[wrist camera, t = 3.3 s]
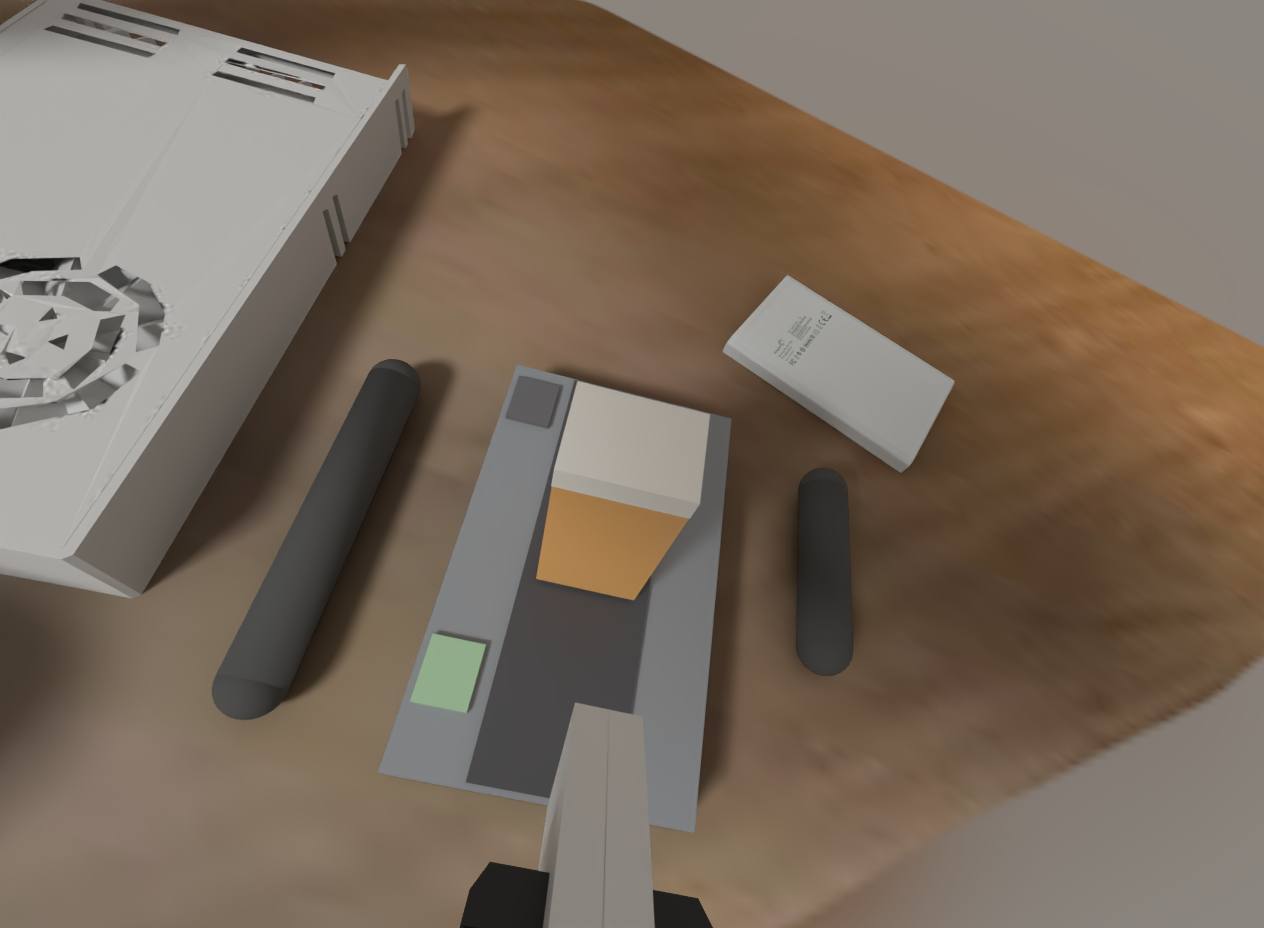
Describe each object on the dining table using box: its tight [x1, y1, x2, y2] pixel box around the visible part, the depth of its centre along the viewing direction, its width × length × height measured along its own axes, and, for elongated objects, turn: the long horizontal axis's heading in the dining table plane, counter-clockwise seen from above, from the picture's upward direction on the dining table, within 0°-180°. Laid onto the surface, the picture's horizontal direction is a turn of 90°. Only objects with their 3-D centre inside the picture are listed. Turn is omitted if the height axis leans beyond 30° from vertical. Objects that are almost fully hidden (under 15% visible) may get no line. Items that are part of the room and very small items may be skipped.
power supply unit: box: [0, 0, 415, 599], centre depth 29 cm, size 19×33×5 cm, turn 172°
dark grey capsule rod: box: [796, 468, 853, 676], centre depth 28 cm, size 10×2×2 cm, turn 171°
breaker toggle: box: [536, 381, 710, 600], centre depth 21 cm, size 3×4×9 cm
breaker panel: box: [378, 365, 731, 833], centre depth 26 cm, size 18×11×3 cm, turn 171°
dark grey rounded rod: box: [212, 359, 420, 720], centre depth 25 cm, size 16×2×2 cm, turn 171°
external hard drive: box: [722, 275, 955, 473], centre depth 36 cm, size 2×8×12 cm
